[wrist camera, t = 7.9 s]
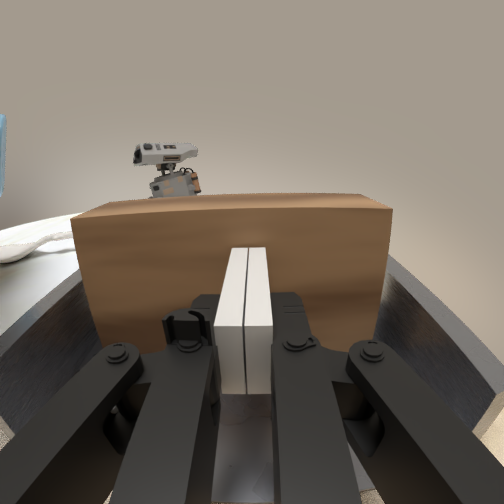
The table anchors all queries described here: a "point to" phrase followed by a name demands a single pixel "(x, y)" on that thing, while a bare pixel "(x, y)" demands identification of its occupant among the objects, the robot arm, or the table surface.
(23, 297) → the table surface
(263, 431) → the chute
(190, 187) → the figurine
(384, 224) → the slab
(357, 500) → the robot arm
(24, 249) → the white elongated piece
